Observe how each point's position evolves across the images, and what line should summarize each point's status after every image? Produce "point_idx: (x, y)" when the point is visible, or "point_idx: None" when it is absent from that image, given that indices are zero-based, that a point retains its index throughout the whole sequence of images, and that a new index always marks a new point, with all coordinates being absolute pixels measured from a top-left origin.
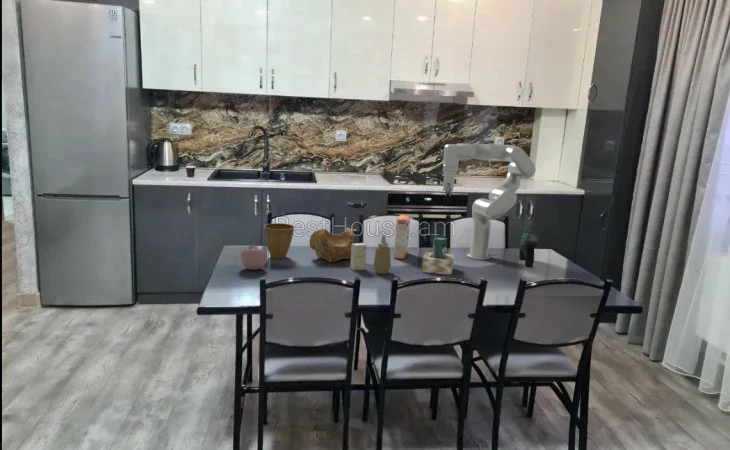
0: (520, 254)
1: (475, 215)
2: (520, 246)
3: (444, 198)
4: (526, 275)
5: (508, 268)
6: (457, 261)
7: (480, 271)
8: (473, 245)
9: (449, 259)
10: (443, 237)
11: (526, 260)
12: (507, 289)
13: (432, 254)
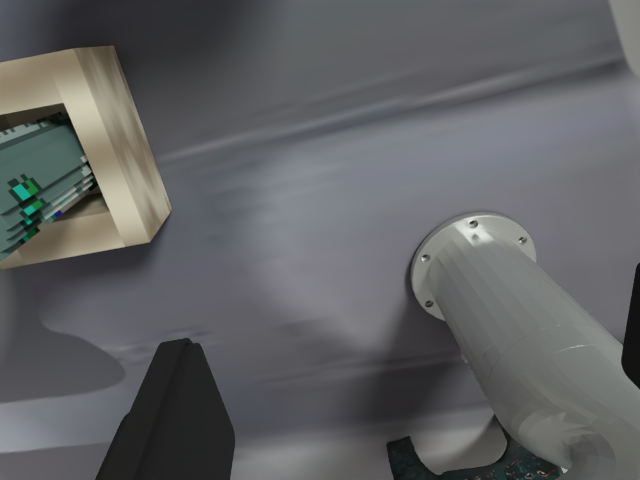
0: (505, 431)
1: (590, 436)
2: (481, 477)
3: (114, 450)
4: (269, 458)
5: (330, 400)
6: (322, 197)
7: (208, 325)
8: (458, 283)
9: (21, 246)
10: (1, 235)
11: (393, 466)
12: (38, 440)
13: (11, 128)
